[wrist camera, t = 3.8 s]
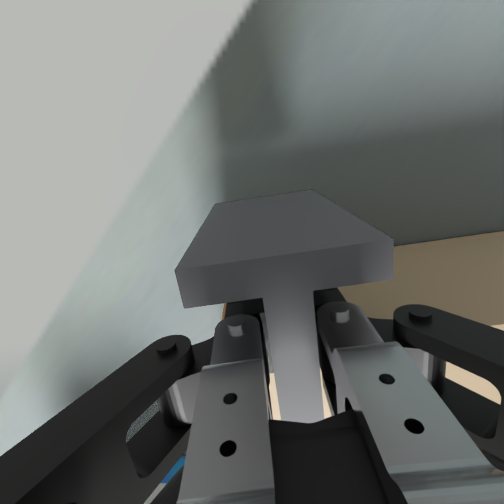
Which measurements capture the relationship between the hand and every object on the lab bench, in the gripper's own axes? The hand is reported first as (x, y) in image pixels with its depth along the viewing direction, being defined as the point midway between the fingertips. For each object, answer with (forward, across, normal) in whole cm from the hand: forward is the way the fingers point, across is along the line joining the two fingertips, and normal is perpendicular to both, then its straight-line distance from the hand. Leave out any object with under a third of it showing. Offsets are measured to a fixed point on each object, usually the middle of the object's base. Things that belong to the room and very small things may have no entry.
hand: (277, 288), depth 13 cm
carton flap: (+9, -7, 0) cm, 11 cm away
